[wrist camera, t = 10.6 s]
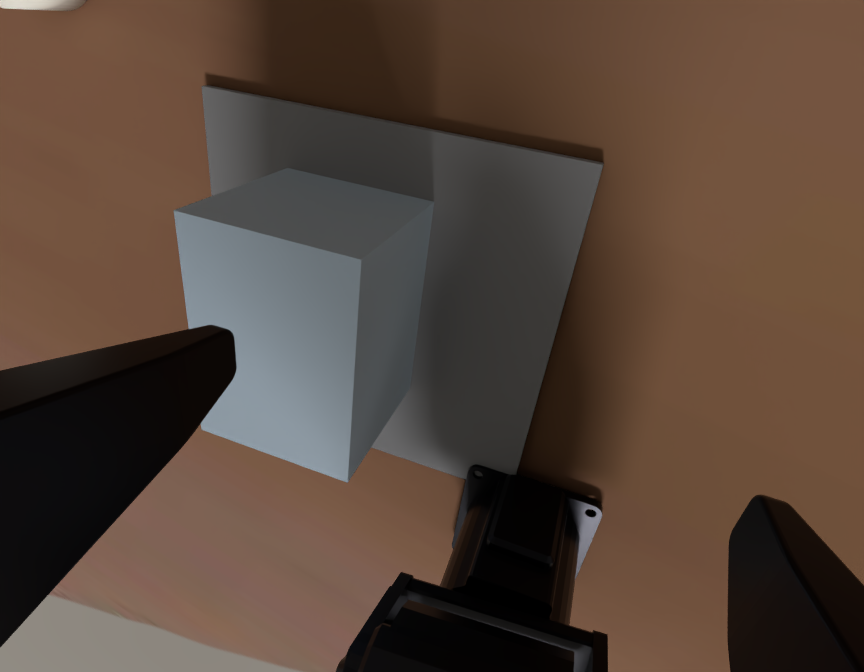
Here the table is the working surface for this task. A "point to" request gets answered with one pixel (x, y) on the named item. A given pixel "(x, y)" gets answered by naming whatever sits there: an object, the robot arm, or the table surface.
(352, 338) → the grey rectangular block
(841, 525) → the table surface
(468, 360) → the mat
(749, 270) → the table surface
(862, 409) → the table surface
